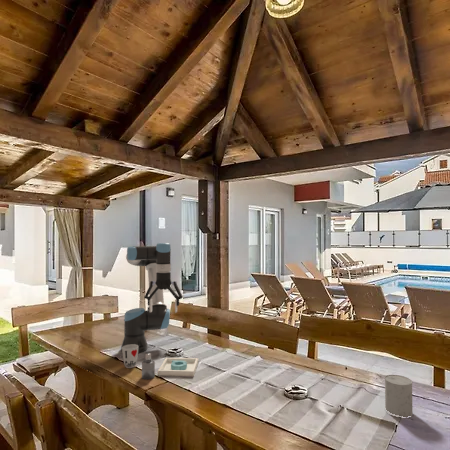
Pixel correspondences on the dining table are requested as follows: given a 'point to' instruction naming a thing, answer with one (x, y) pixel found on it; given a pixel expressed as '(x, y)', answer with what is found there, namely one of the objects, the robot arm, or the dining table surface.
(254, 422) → the dining table surface
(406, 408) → the grey cylinder
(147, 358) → the grey bottle
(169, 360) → the tray
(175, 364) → the ring
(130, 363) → the cup
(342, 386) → the dining table surface
